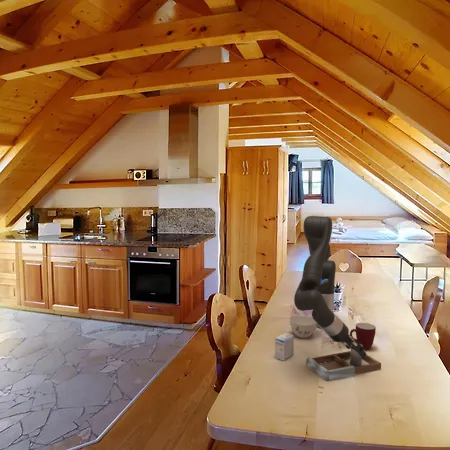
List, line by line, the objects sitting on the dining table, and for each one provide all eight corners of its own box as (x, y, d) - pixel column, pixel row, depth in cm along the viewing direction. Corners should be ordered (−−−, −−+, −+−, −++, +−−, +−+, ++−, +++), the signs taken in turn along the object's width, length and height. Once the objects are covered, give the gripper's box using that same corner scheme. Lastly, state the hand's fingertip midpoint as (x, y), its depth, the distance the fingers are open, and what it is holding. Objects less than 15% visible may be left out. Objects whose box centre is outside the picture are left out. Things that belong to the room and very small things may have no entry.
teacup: (312, 343, 172) (313, 326, 171) (285, 338, 177) (286, 321, 177) (320, 331, 185) (321, 315, 184) (295, 327, 191) (295, 311, 190)
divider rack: (305, 365, 151) (306, 356, 151) (358, 355, 160) (358, 347, 160) (326, 381, 138) (327, 372, 138) (382, 370, 147) (382, 361, 147)
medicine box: (284, 352, 163) (284, 332, 162) (293, 355, 160) (294, 334, 159) (274, 358, 157) (274, 338, 156) (284, 361, 154) (284, 340, 153)
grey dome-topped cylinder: (347, 363, 153) (348, 343, 152) (356, 361, 154) (357, 342, 154) (355, 368, 149) (356, 348, 148) (364, 366, 150) (365, 346, 150)
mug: (347, 348, 166) (348, 326, 165) (350, 342, 173) (351, 320, 172) (373, 353, 161) (374, 330, 160) (375, 346, 169) (376, 324, 168)
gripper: (352, 325, 140) (375, 351, 145) (328, 313, 153) (351, 337, 158) (339, 341, 139) (363, 367, 144) (316, 328, 152) (339, 351, 157)
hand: (357, 351), depth 151 cm, fingers open, 8 cm apart
